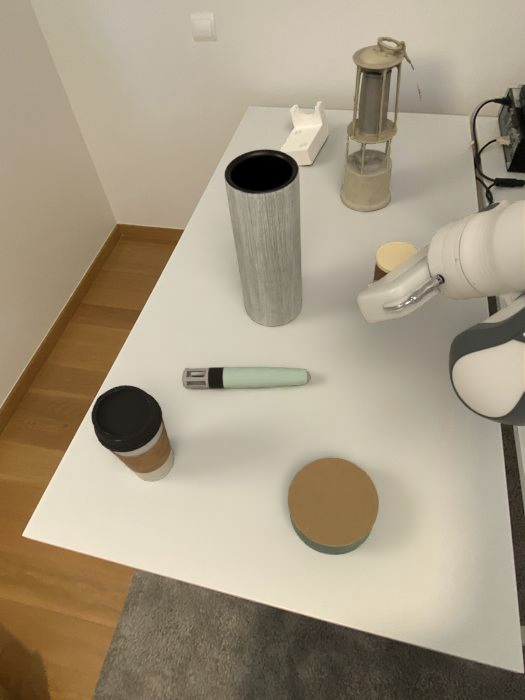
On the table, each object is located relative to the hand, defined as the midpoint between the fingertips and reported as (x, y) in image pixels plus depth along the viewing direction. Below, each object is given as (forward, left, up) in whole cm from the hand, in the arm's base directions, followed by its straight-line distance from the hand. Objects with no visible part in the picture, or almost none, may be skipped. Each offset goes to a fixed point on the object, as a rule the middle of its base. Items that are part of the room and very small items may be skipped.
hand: (390, 275), depth 68 cm
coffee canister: (-1, 0, -5) cm, 5 cm away
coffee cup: (+26, +29, -16) cm, 43 cm away
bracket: (+28, -51, -17) cm, 61 cm away
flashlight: (+18, +12, -17) cm, 27 cm away
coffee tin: (0, +28, -16) cm, 32 cm away
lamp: (+9, -38, -16) cm, 42 cm away
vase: (+19, -4, -16) cm, 26 cm away
